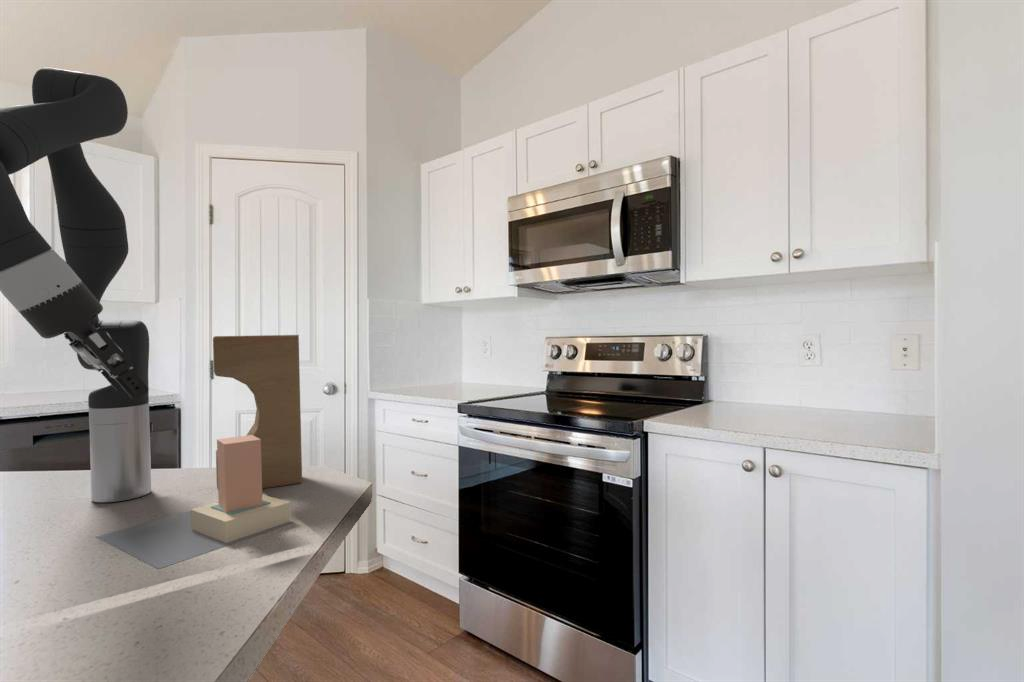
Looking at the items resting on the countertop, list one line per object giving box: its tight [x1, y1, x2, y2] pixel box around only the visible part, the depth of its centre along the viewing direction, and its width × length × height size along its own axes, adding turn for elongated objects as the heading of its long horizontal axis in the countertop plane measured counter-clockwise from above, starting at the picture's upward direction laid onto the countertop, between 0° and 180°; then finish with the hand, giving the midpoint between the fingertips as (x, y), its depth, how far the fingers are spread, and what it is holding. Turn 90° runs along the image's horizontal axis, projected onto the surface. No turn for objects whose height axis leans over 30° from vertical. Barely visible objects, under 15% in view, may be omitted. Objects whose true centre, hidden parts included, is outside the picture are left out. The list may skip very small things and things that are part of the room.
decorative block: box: [212, 334, 303, 490], centre depth 107 cm, size 15×8×30 cm, turn 120°
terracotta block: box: [216, 434, 263, 512], centre depth 82 cm, size 5×5×10 cm
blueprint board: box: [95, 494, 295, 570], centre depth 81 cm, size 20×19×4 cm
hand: (133, 391), depth 76 cm, fingers open, 8 cm apart
